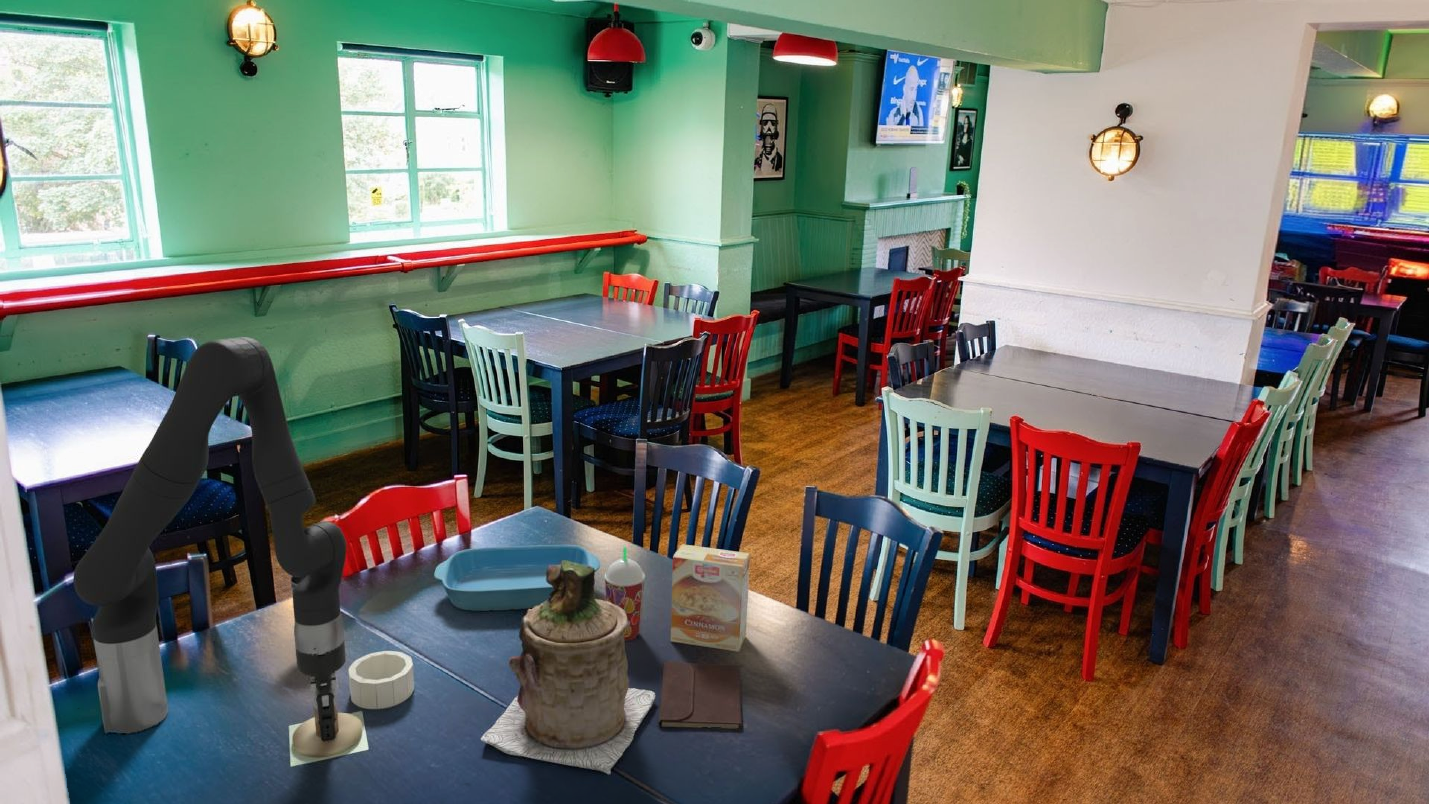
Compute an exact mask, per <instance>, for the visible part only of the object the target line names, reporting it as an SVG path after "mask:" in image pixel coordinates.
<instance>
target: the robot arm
mask: <svg viewBox="0 0 1429 804" xmlns="http://www.w3.org/2000/svg"><path fill="white" fill-rule="evenodd" d="M234 397H238V398H239V400H240V401H241V403H242V405H243V407H244V409H245V411H246V413H247V417H248V419H249V424H250V431H251V441H252V442H251V444H252V445H251V449H252V450H251V455H252V458H251V461H252V470H253V473H254V477H255V480H256V483H257V486H258V488H259V491H260V493H261V494H262V498H263V500H264V502H265V504H266V506H267V508H268V511H269V516H270V523H271V524H270V525H271V531H272V538H273V545H274V553H275V557H276V560H277V562H278V564H279V566H280V568H282V570H283V571H284V572H285V573H286V574H288V575H289V576H291V577H292V576H294V577H304V576H306V577H305V578H304V579H303V580H302V581H301V582H300V583H299V584H298V585H297V586H296V587H295V589H294V591H293V593H292V606H293V607H292V608H293V616H294V617H293V618H294V626H293V635H294V647H295V656H296V657H295V658H296V667H297V670H298V672H299V673H301V674H302V675H304V676H308V677H309V678H310V681H309V682H310V690H311V692H312V695H313V705H314V706H313V708H314V707H315V709H317V710H318V716H319V718H318V724H319V726H320V731H321V740H322V741H328V740H333V739H335V725H334V723H335V720H336V717H335V713H334V706H335V705H336V703H337V694H336V693H337V691H336V688H337V686H338V685H337V677H336V672H337V671H339V670H340V669H342V667H344V665H346V661H347V660H346V659H347V658H346V656H347V655H346V644H345V633H344V631H345V630H344V622H343V618H342V614H341V613H342V612H341V602H340V586H341V583H342V578H343V573H344V568H345V563H346V558H347V540H346V537H345V534H344V533H343V531H342V529H341V528H340V527H339V526H338V525H337V524H336V523H334V522H332V521H329V520H327V521H326V520H324V521H319V522H316V523H314V524H311V525H309V526H306V527H303V526H304V525H303V518H304V517H303V516H304V515H305V514H306V513H307V512H308V511H310V510H311V509H312V508H313V507H315V504H316V502H317V500H316V496H315V493H314V490H313V488H312V487H311V486H312V485H311V483H310V481H309V478H308V476H307V474H306V472H305V469H304V468H303V465H302V462H301V460H300V458H299V456H298V453H297V450H296V447H295V444H294V442H293V438H292V435H291V431H290V428H289V425H288V420H287V416H286V412H285V408H284V405H283V400H282V397H281V393H280V388H279V384H278V381H277V376H276V372H275V369H274V364H273V362H272V358H271V355H270V353H269V352H268V349H266V347H265V346H264V345H263V344H262V343H261V342H259V341H258V340H256V339H254V338H252V337H248V336H247V337H245V336H244V337H243V336H239V337H238V336H237V337H228V338H220V339H219V338H218V339H213V340H212V339H211V340H209V341H206V342H204V343H202V344H201V345H199V346H198V347H197V348H196V349H195V351H194V352H193V353H192V354H191V356H190V358H189V360H188V362H187V365H186V367H185V369H184V371H183V373H182V376H181V378H180V381H179V384H178V386H177V389H176V391H175V394H174V396H173V399H172V401H171V404H170V405H169V407H168V409H167V411H166V412H165V415H164V416H163V418H162V420H161V422H160V423H159V426H158V427H157V429H156V431H155V433H154V435H153V436H152V438H151V440H150V442H149V444H148V445H147V447H146V449H145V450H144V452H143V453H142V454H141V457H140V458H139V460H138V462H137V464H136V466H135V468H134V469H133V471H132V473H131V475H130V477H129V479H128V481H127V483H126V486H125V487H124V489H123V491H122V493H121V495H120V496H119V498H118V500H117V502H116V503H115V505H114V508H113V510H112V513H111V515H110V516H109V519H108V521H107V523H105V525H104V527H103V528H102V530H101V532H100V534H98V535H97V538H96V539H95V540H94V541H93V543H92V544H91V546H90V547H89V548H88V549H87V551H86V552H85V554H84V555H83V556H82V557H81V559H80V560H79V562H78V563H77V565H76V567H75V569H74V572H73V577H72V578H73V586H74V587H73V588H74V589H75V592H76V594H77V596H78V597H79V599H81V600H82V602H84V603H86V604H88V605H90V606H96V607H98V610H97V611H96V613H95V615H94V617H93V620H92V622H91V631H92V636H93V637H92V638H93V645H94V649H95V656H96V662H97V663H96V664H97V668H98V675H99V676H98V677H99V678H98V682H97V691H98V696H99V703H100V709H101V716H102V723H103V728H104V733H105V732H108V731H116V732H118V733H117V734H121V733H123V732H124V733H126V734H132V733H131V732H134V733H139V732H142V730H143V731H145V730H144V729H146V730H148V729H151V728H152V726H153V727H155V726H156V725H158V724H159V722H160V723H161V722H163V720H165V718H166V717H167V715H168V713H169V709H168V698H167V693H166V685H165V676H164V671H163V669H164V668H163V664H162V663H163V661H162V656H161V648H160V641H159V633H158V627H157V618H156V617H157V613H158V609H159V604H160V603H159V601H160V600H159V588H158V586H159V585H158V576H157V575H158V574H157V565H156V560H155V558H154V555H153V553H152V551H151V549H150V547H151V545H152V543H153V542H154V541H155V539H156V538H157V537H158V536H159V535H160V533H162V532H163V530H165V528H166V527H167V526H169V524H170V523H171V522H172V521H173V519H174V518H175V517H176V516H177V515H178V514H179V513H180V511H181V510H182V508H183V507H184V506H185V505H186V504H187V503H188V501H189V500H190V498H191V497H192V495H193V493H195V492H194V491H195V490H196V488H197V486H198V485H199V483H200V481H201V479H202V478H203V476H204V474H205V472H206V470H207V467H208V463H209V457H210V456H209V455H210V454H209V453H210V449H209V436H210V432H211V429H212V428H213V427H212V426H213V424H214V423H215V421H216V419H217V418H218V416H219V415H220V413H221V412H222V410H223V408H224V407H225V406H226V405H227V403H228V402H229V401H230V400H231V399H232V398H234ZM337 704H338V703H337ZM154 725H155V726H154ZM150 727H151V728H150ZM147 728H148V729H147ZM138 731H139V732H138Z"/></svg>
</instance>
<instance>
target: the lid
mask: <svg viewBox="0 0 1429 804" xmlns="http://www.w3.org/2000/svg"><path fill="white" fill-rule="evenodd" d="M313 713H314V714H313V715H314V717H311V718H309V719H307V720H306V721H304V722H301V723H302V724H301V725H300V726H299V727H298V728H297V729H296V730H295V731H294V733H293V737H292V740H293V747H294V749H295V751H296V752H297V753H299V754H301V755H303V756H306V757H314V758H320V757H328V756H332V755H336V754H339V753H342V752H344V751H346V750H348V749H349V748H351V747H352V746H354V745H355V744H356V743H357V742H358V741H359V740H360V738H361V736H362V723H361V721H360V720H359V719H358V718H357V717H356V716H354V715H351V714H349V713H345V712H338V703H336V705H335V706H334V713H335V717H336V720H335V723H334V725H335V739H333V740H328V741H322V740H321V731H320V726H319V724H318V718H319V716H318V710H317V709H315V707H314V706H313Z"/></svg>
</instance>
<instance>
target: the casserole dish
mask: <svg viewBox="0 0 1429 804" xmlns="http://www.w3.org/2000/svg"><path fill="white" fill-rule="evenodd" d="M563 560H567V561H570V562H574V563H578V564H582V565H588V566H591V567H593V568H594V569H595V573H596V572H598V570H599V569H600V568H601V567H600V566H601V561H600V559H599V558H598V557H597V556H596V555H595V554H592V553H590V551H588V549H587V548H585V547H583V546H580V545H579V546H578V545H575V544H574V545H572V544H545V545H544V544H542V545H541V544H540V545H538V544H537V545H519V546H518V545H515V546H513V545H512V546H496V547H495V546H492V547H475V548H469V549H468V548H467V549H462V550H460V551H457V552H454V553H453V554H451V555H450V556H449V557H448V559H446V560H444V561H443V562H442V563H439V564H438V565H437V566H436V568H435V569H434V570H435V571H434V575H433V576H434V579H435V580H437V581H439V582H442V586H443V587H444V590H445V592H446V595H447V597H448V600H449V601H450V602H451V604H452V605H453V606H454V607H456V608H458V609H461V610H464V611H469V610H470V611H471V612H480V611H481V612H489V611H490V610H493V611H509V609H514V610H529V609H530V608H532V609H533V608H534V607H535V606H539V605H540V604H541V603H544V602H545V601H547V600H548V599H549V595H550V593H551V592H552V591H553V590H554V588H553V586H552V585H550V584H548V583H547V582H546V571H547V568H548V567H549V566H552V565H561V562H562V561H563Z"/></svg>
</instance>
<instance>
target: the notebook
mask: <svg viewBox="0 0 1429 804" xmlns="http://www.w3.org/2000/svg"><path fill="white" fill-rule="evenodd" d="M740 677H741V675H740V666H739V664H728V663H727V664H725V663H723V664H722V663H697V662H696V663H695V662H694V663H693V662H692V663H691V662H683V661H673V660H672V661H669V660H668V661H664V663H663V671H662V678H661V679H662V681H661V691H660V699H659V701H660V702H659V703H660V704H659V711H658V712H659V713H658V723H657V724H658V727H668V728H669V727H673V728H674V727H675V728H702V727H708V729H710V728H711V727H721V728H720V729H737V728H739V729H740V728H742V729H743V719H742V717H743V716H742V699H741V678H740ZM711 729H712V728H711Z"/></svg>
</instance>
